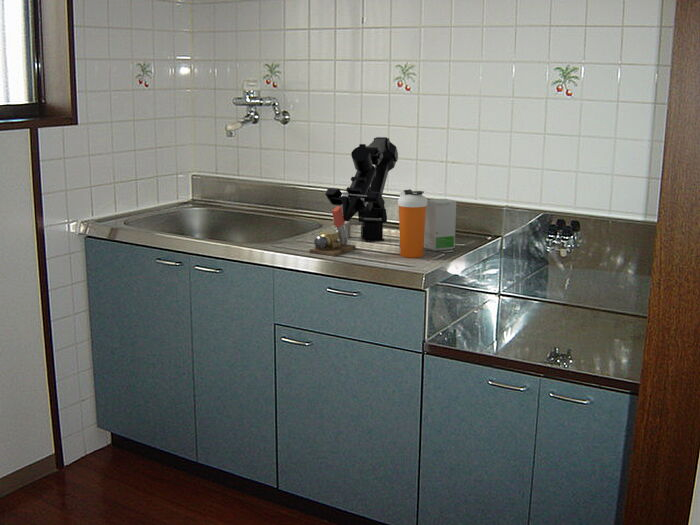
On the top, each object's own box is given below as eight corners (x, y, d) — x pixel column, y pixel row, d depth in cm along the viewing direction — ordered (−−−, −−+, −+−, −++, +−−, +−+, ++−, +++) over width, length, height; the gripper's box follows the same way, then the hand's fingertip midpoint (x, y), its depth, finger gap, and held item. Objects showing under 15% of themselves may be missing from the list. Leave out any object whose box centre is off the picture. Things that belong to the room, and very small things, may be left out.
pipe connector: (362, 240, 281) (362, 210, 278) (332, 240, 281) (332, 210, 278) (362, 234, 290) (362, 205, 288) (333, 234, 290) (333, 205, 288)
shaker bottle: (417, 259, 252) (419, 193, 248) (391, 256, 257) (392, 191, 252) (431, 254, 260) (432, 190, 255) (405, 251, 264) (406, 187, 260)
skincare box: (433, 251, 264) (435, 202, 261) (422, 247, 270) (423, 199, 266) (456, 248, 268) (457, 200, 264) (444, 245, 274) (445, 197, 270)
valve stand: (331, 245, 272) (331, 227, 271) (355, 248, 268) (355, 230, 267) (309, 253, 261) (309, 234, 260) (334, 256, 257) (334, 237, 256)
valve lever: (344, 241, 264) (336, 206, 257) (348, 242, 263) (341, 206, 256) (339, 246, 262) (331, 211, 255) (344, 247, 261) (336, 211, 254)
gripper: (397, 197, 267) (380, 238, 260) (346, 193, 276) (329, 232, 270) (385, 176, 258) (368, 217, 252) (333, 172, 268) (315, 212, 261)
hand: (345, 220), depth 259 cm, fingers closed
